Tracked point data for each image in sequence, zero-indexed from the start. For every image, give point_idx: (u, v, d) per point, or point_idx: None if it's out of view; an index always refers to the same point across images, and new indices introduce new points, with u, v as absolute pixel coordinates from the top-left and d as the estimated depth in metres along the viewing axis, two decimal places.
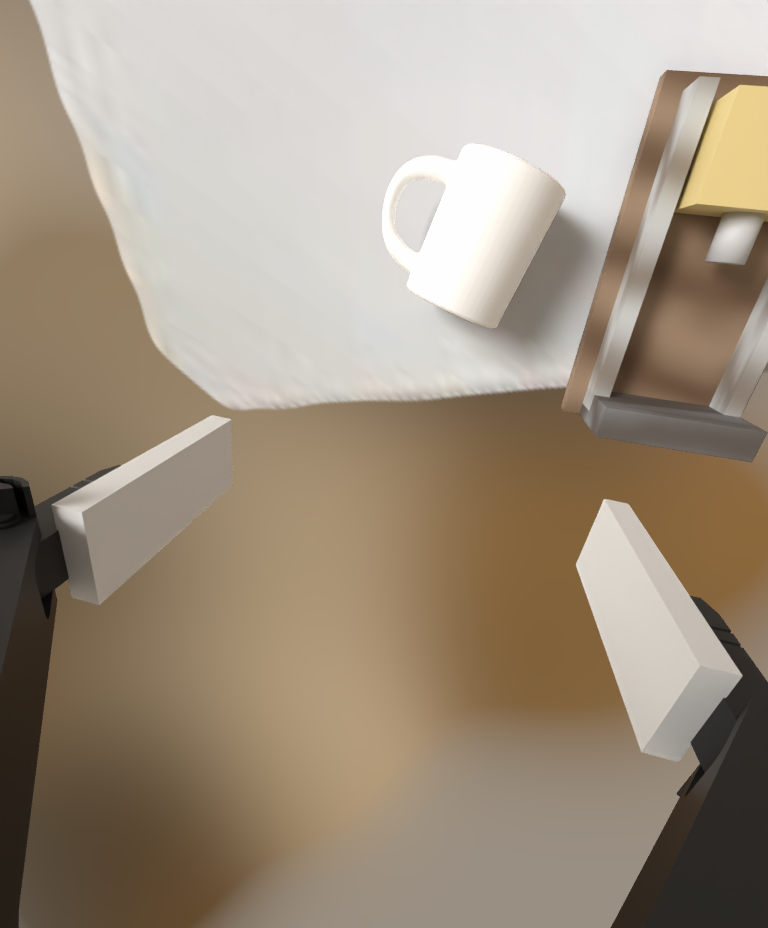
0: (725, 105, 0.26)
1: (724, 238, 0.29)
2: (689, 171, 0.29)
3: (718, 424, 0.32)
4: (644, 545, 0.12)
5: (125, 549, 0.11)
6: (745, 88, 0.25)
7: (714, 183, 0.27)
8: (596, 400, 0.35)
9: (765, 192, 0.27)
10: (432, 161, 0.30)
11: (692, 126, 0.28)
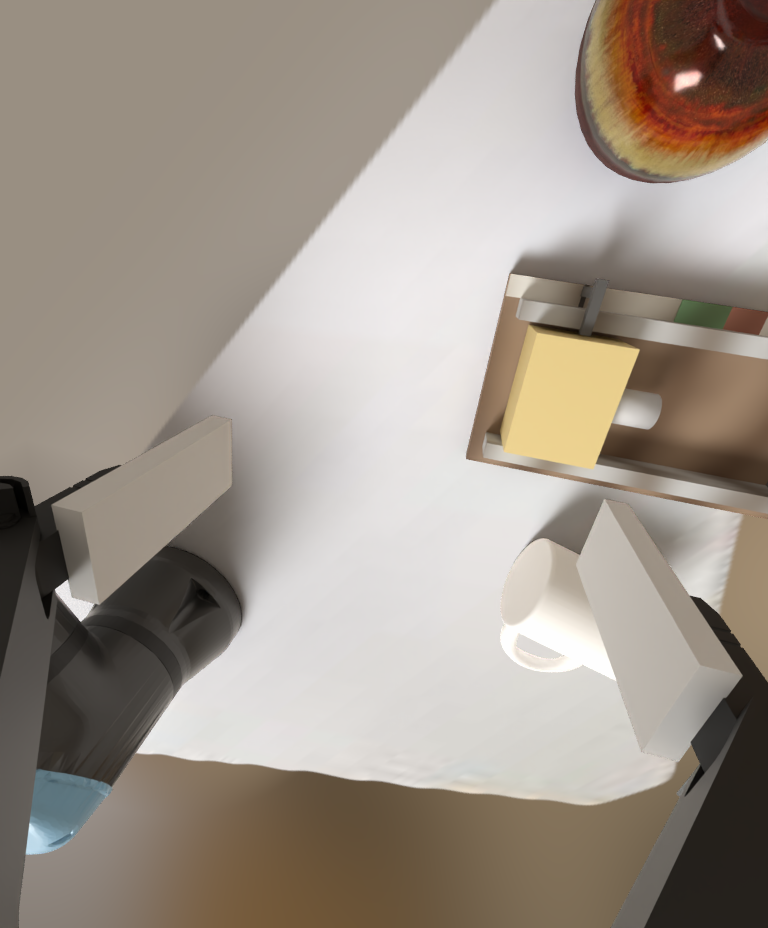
0: None
1: (628, 424, 0.29)
2: None
3: None
4: (644, 545, 0.12)
5: (125, 549, 0.11)
6: (507, 447, 0.29)
7: (578, 458, 0.29)
8: None
9: (598, 415, 0.27)
10: (507, 637, 0.38)
11: (518, 457, 0.32)
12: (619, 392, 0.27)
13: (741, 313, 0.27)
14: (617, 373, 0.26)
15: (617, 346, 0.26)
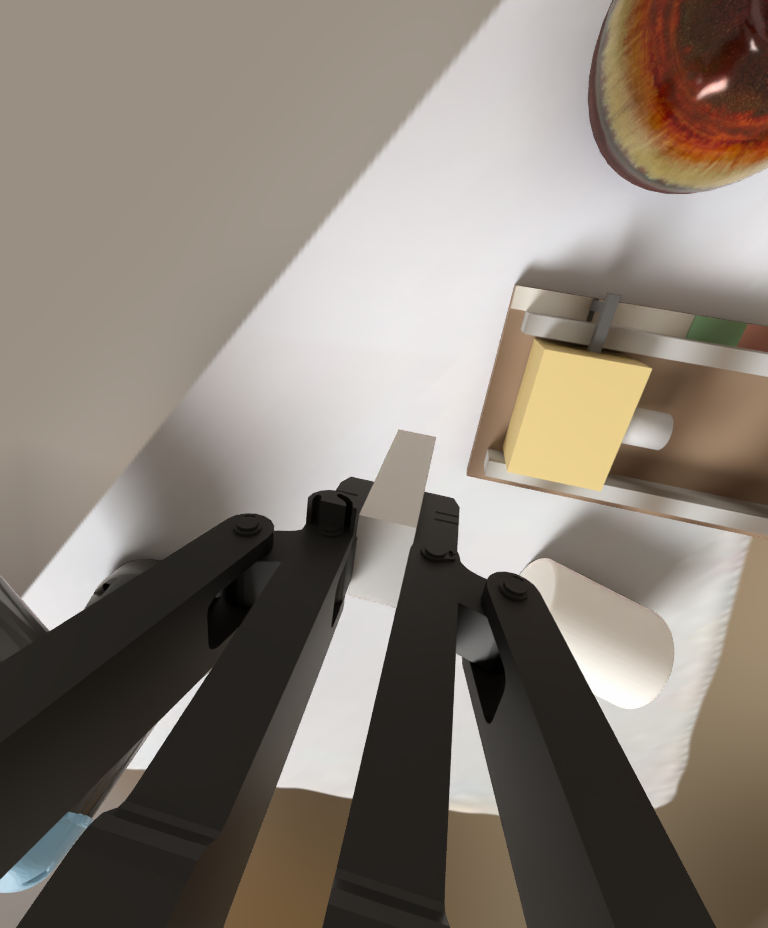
0: None
1: (637, 444, 0.27)
2: None
3: None
4: (420, 460, 0.14)
5: None
6: (511, 467, 0.28)
7: (585, 479, 0.27)
8: None
9: (607, 436, 0.26)
10: None
11: (522, 476, 0.30)
12: (629, 412, 0.25)
13: (757, 330, 0.26)
14: (628, 392, 0.25)
15: (628, 364, 0.24)
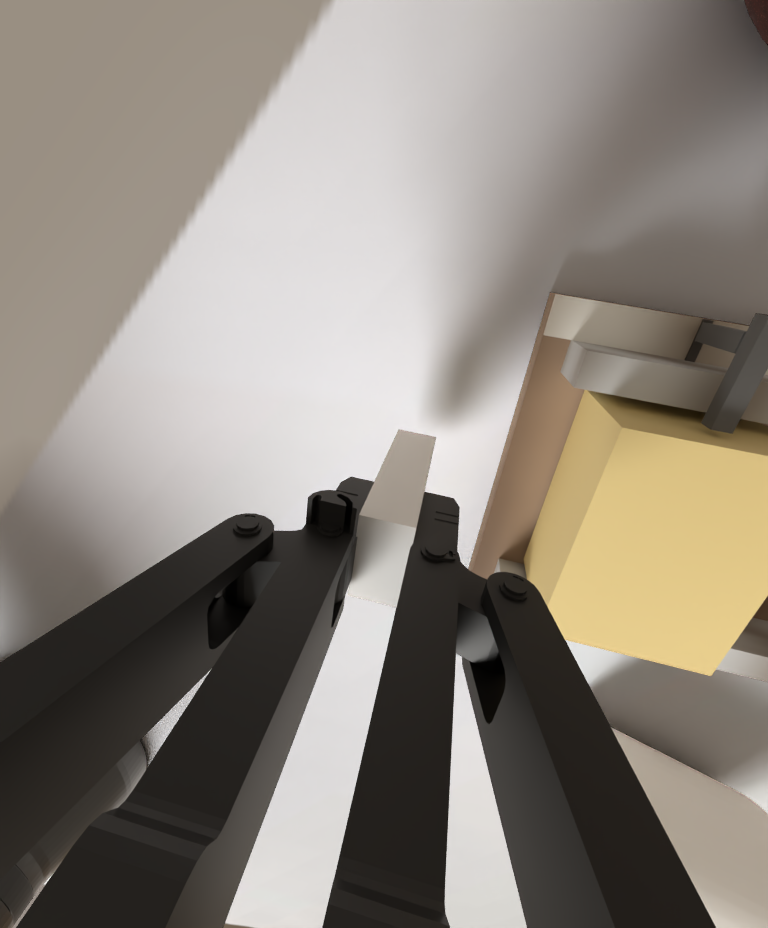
0: None
1: None
2: None
3: None
4: (420, 460, 0.14)
5: None
6: None
7: (683, 655, 0.15)
8: None
9: (735, 589, 0.13)
10: None
11: None
12: None
13: None
14: None
15: None
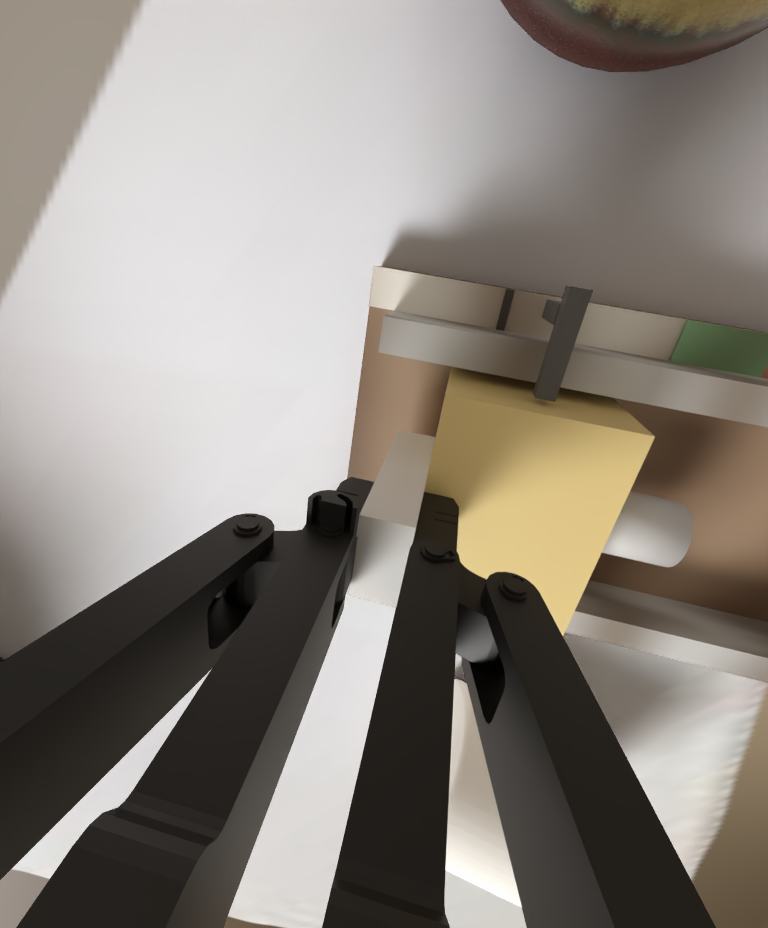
0: None
1: None
2: None
3: None
4: (420, 460, 0.14)
5: None
6: None
7: None
8: None
9: (569, 552, 0.14)
10: None
11: None
12: (611, 514, 0.13)
13: None
14: (607, 479, 0.13)
15: (608, 427, 0.12)
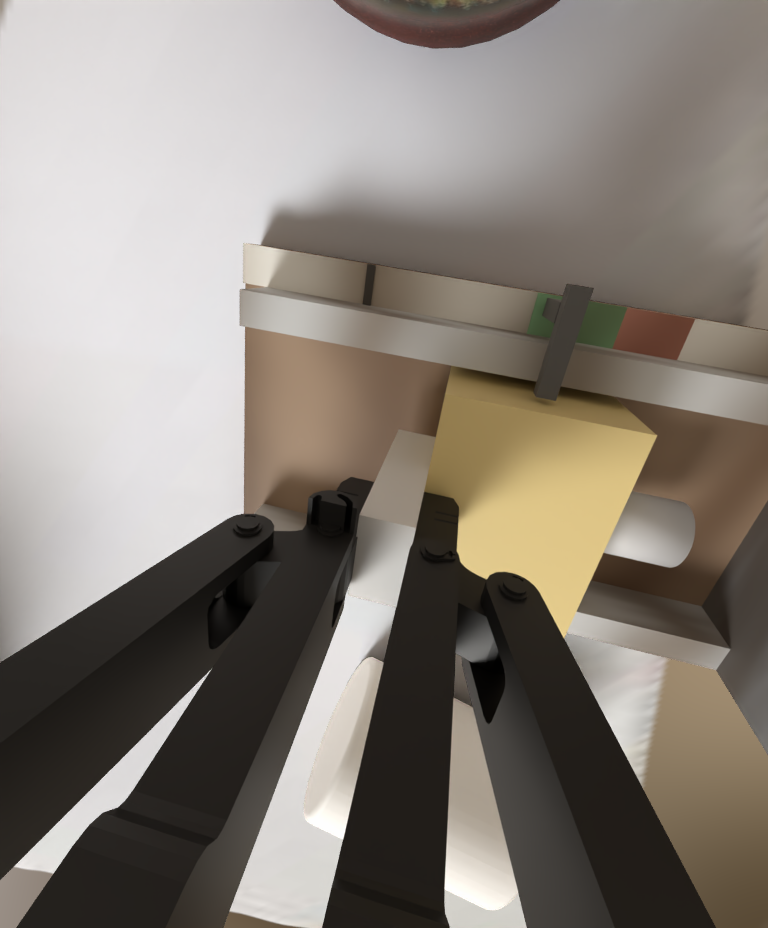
0: None
1: None
2: None
3: None
4: (420, 460, 0.14)
5: None
6: None
7: None
8: (733, 689, 0.17)
9: (571, 552, 0.14)
10: None
11: None
12: (613, 514, 0.13)
13: (645, 319, 0.15)
14: (609, 479, 0.13)
15: (610, 427, 0.12)
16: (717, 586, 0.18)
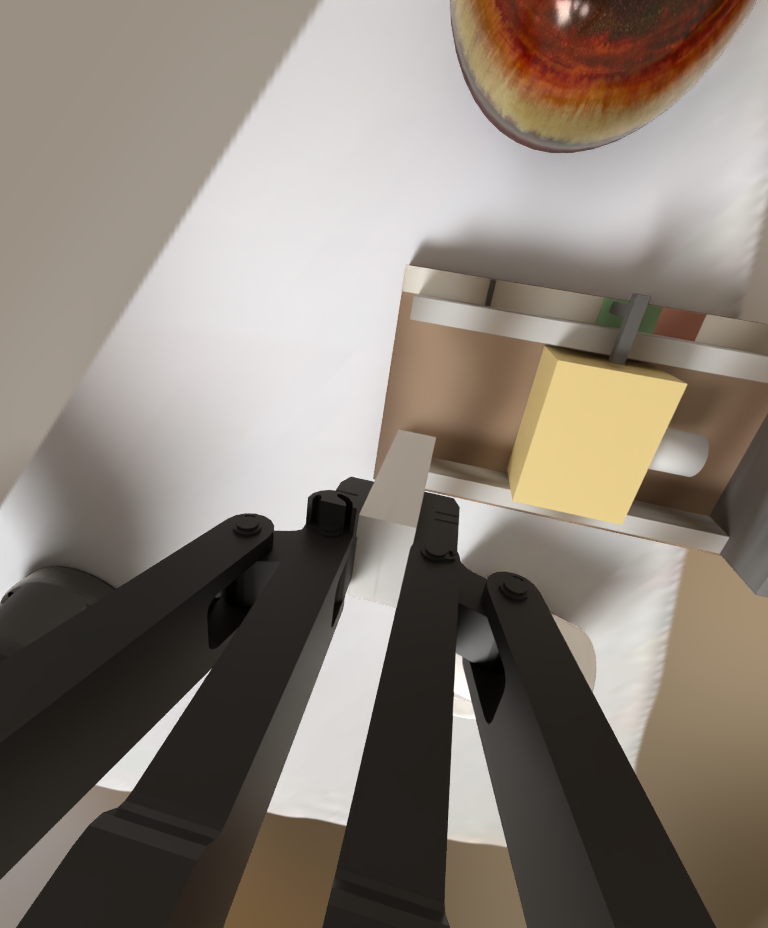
0: None
1: (665, 470, 0.23)
2: None
3: None
4: (420, 460, 0.14)
5: None
6: (516, 496, 0.24)
7: (604, 511, 0.23)
8: (731, 563, 0.25)
9: (630, 462, 0.22)
10: None
11: None
12: (658, 435, 0.21)
13: (674, 315, 0.23)
14: (657, 412, 0.21)
15: (659, 379, 0.20)
16: (720, 499, 0.26)
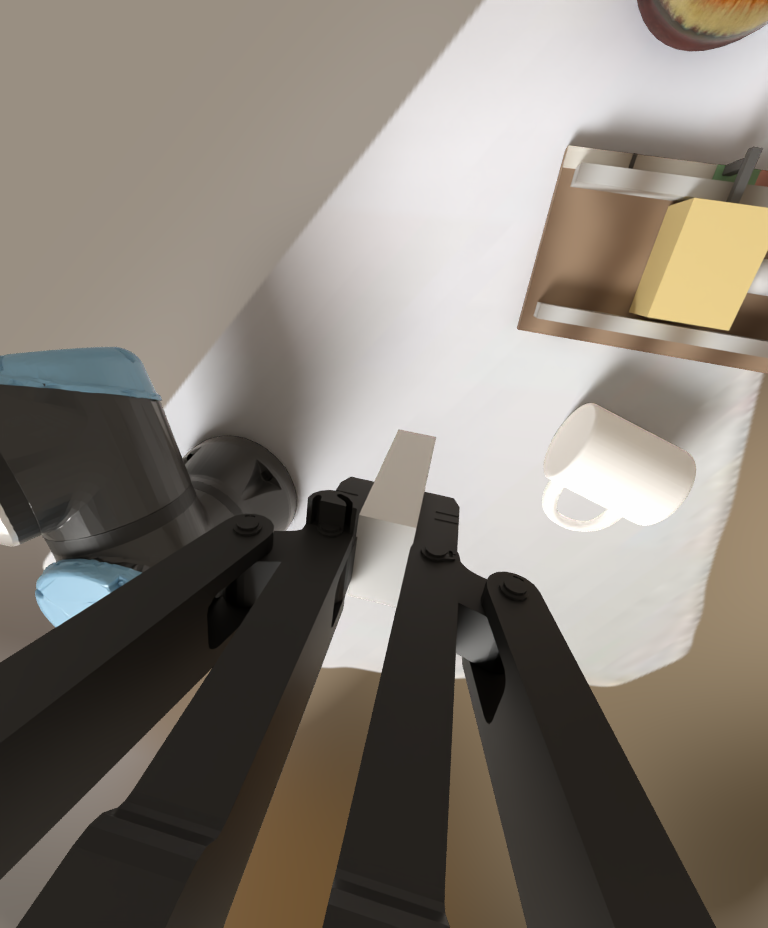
0: None
1: (760, 290, 0.32)
2: None
3: None
4: (420, 460, 0.14)
5: None
6: (651, 312, 0.33)
7: (716, 319, 0.33)
8: None
9: (740, 277, 0.31)
10: (549, 496, 0.42)
11: (568, 316, 0.36)
12: (762, 253, 0.30)
13: None
14: (763, 234, 0.30)
15: (766, 208, 0.29)
16: None
